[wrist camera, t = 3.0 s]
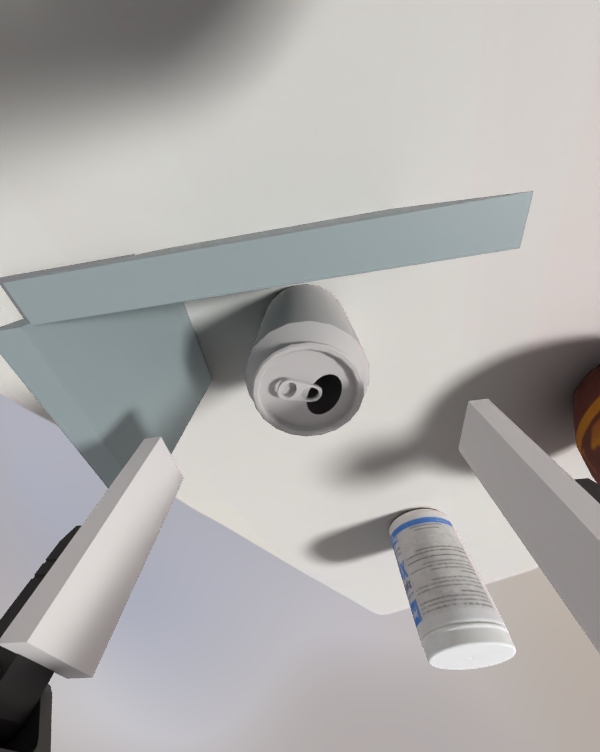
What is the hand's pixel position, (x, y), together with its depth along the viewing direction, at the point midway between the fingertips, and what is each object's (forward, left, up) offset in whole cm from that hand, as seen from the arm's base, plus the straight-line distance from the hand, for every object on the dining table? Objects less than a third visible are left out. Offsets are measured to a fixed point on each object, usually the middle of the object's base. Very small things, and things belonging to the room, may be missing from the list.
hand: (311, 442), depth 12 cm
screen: (-2, -2, -15) cm, 15 cm away
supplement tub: (+35, +13, -15) cm, 40 cm away
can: (0, 0, -15) cm, 16 cm away
